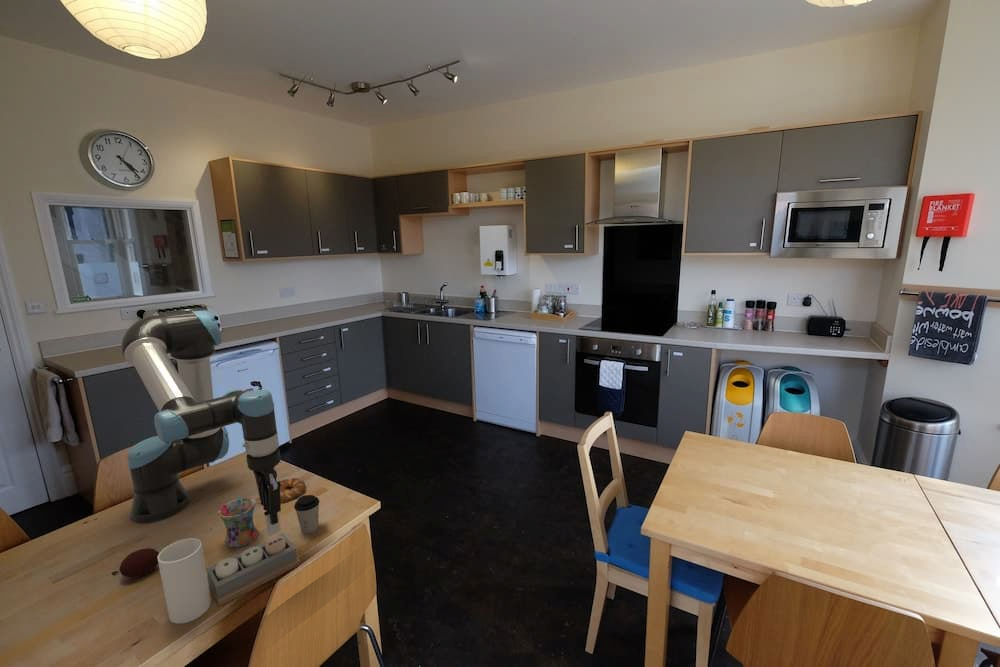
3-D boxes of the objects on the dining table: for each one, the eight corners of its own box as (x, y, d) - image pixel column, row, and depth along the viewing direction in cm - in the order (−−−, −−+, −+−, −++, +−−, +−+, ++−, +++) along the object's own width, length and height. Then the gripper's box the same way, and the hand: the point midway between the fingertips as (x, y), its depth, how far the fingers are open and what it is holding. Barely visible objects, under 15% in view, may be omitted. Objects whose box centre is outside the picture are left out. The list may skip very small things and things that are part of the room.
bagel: (296, 504, 146) (295, 494, 146) (263, 504, 146) (262, 494, 146) (312, 484, 158) (310, 475, 157) (281, 484, 158) (280, 475, 157)
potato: (122, 570, 117) (118, 551, 116) (161, 557, 122) (157, 538, 121) (120, 587, 111) (116, 567, 110) (161, 572, 116) (158, 552, 115)
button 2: (240, 563, 115) (238, 552, 115) (259, 554, 119) (258, 543, 118) (246, 573, 112) (244, 561, 111) (266, 563, 115) (264, 552, 115)
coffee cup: (327, 525, 135) (324, 495, 133) (309, 539, 128) (305, 508, 126) (310, 519, 138) (307, 490, 135) (291, 533, 131) (288, 502, 129)
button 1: (214, 575, 111) (212, 564, 111) (235, 565, 115) (234, 554, 114) (219, 585, 108) (217, 574, 107) (241, 575, 111) (239, 563, 111)
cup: (183, 596, 108) (172, 539, 105) (218, 594, 109) (208, 536, 106) (161, 625, 100) (148, 563, 97) (199, 622, 101) (187, 561, 98)
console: (206, 580, 113) (203, 565, 113) (283, 543, 127) (281, 530, 126) (219, 606, 105) (217, 591, 104) (300, 564, 118) (298, 550, 118)
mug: (256, 546, 126) (251, 513, 124) (219, 553, 123) (213, 519, 121) (264, 521, 137) (260, 490, 135) (230, 527, 134) (225, 496, 132)
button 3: (263, 552, 119) (262, 541, 119) (282, 543, 123) (281, 533, 122) (270, 561, 116) (268, 550, 115) (289, 552, 120) (287, 541, 119)
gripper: (238, 447, 115) (250, 528, 120) (255, 464, 106) (268, 550, 111) (269, 438, 120) (279, 516, 125) (287, 453, 111) (298, 536, 116)
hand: (274, 532), depth 118 cm, fingers closed
